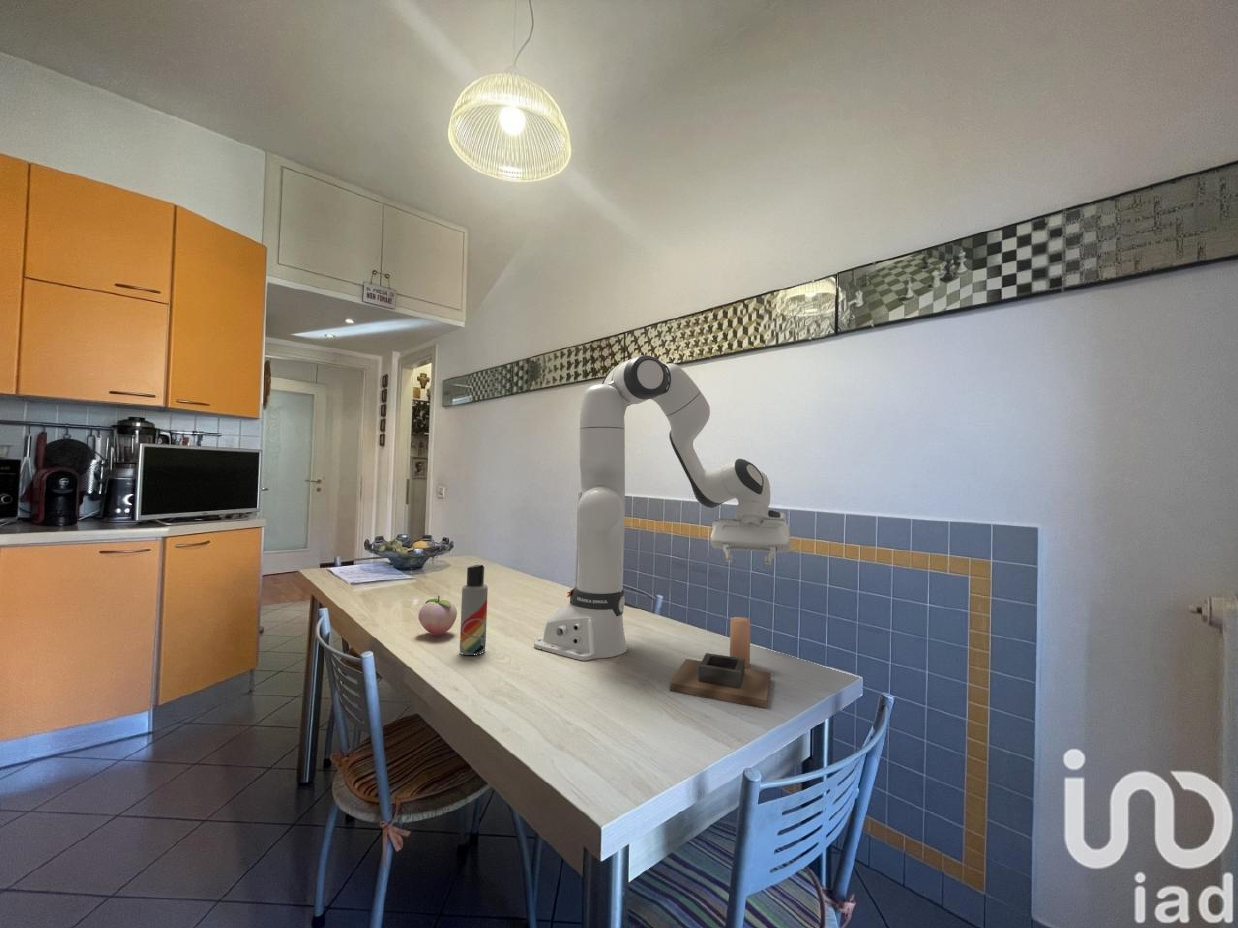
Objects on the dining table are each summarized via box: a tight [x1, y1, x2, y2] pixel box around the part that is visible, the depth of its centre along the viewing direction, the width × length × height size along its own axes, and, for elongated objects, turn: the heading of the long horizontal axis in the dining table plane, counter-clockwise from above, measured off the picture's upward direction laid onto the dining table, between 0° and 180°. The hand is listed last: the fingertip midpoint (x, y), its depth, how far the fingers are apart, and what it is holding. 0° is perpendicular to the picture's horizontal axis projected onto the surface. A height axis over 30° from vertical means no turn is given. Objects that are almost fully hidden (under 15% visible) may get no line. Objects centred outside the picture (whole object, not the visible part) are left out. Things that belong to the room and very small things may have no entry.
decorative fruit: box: [418, 595, 458, 636], centre depth 123 cm, size 9×8×10 cm
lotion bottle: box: [459, 564, 489, 656], centre depth 113 cm, size 6×6×20 cm
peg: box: [729, 616, 751, 669], centre depth 110 cm, size 4×4×10 cm
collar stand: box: [669, 652, 772, 709], centre depth 98 cm, size 18×14×4 cm
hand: (748, 562), depth 122 cm, fingers open, 8 cm apart
